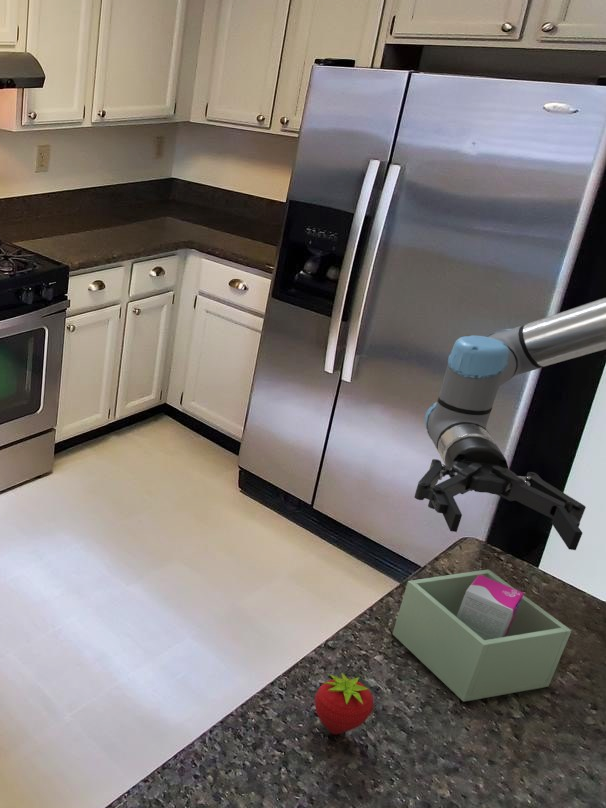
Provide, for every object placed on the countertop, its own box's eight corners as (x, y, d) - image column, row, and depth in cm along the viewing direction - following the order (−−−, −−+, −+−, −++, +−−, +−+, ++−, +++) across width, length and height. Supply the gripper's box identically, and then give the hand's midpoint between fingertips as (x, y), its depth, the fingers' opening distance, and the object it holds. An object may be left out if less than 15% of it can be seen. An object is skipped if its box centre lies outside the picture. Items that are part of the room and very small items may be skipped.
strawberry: (375, 740, 101) (394, 680, 97) (332, 760, 98) (349, 700, 94) (337, 707, 106) (353, 649, 101) (295, 726, 103) (310, 667, 99)
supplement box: (488, 676, 110) (512, 610, 105) (441, 654, 114) (462, 589, 109) (500, 656, 113) (525, 591, 108) (454, 635, 117) (476, 572, 112)
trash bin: (470, 621, 121) (488, 569, 117) (548, 686, 109) (572, 630, 105) (392, 634, 119) (407, 580, 114) (463, 702, 106) (483, 645, 102)
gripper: (558, 491, 121) (617, 573, 102) (377, 466, 128) (402, 539, 109) (574, 447, 117) (639, 524, 99) (388, 425, 125) (415, 492, 106)
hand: (514, 532), depth 104 cm, fingers open, 13 cm apart
